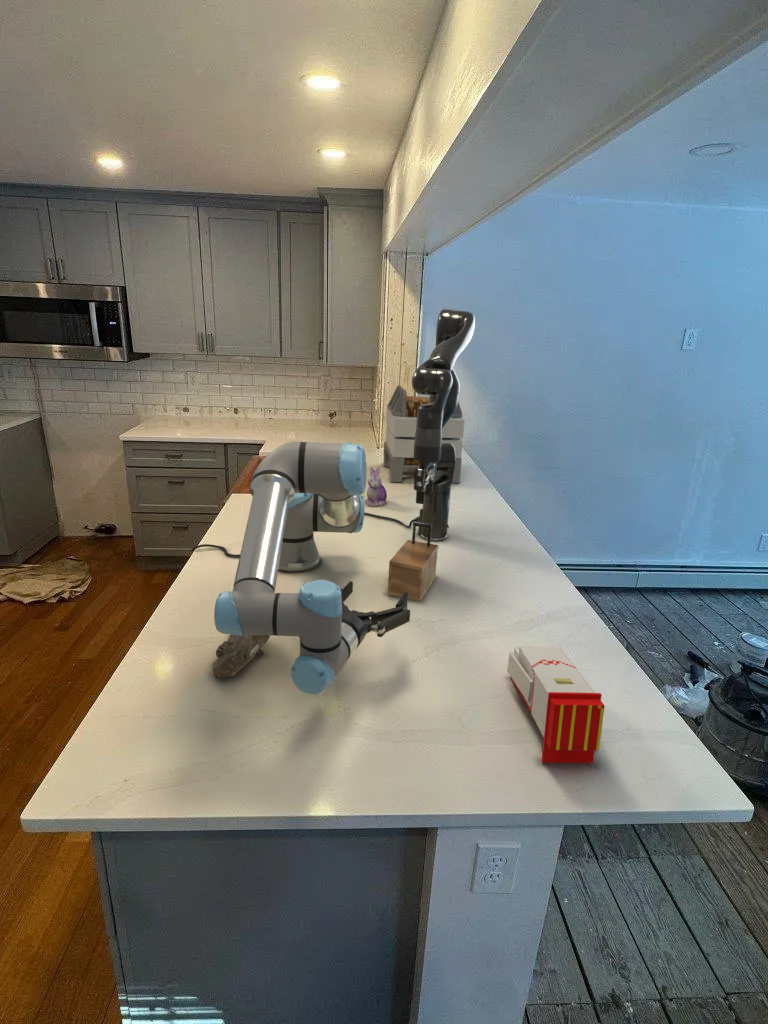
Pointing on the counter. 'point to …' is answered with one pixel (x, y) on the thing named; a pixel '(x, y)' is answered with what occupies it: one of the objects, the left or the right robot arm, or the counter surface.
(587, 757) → the toy
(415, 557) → the lid
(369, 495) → the figurine
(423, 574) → the chest
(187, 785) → the counter surface
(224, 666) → the fossil
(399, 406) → the transformer
